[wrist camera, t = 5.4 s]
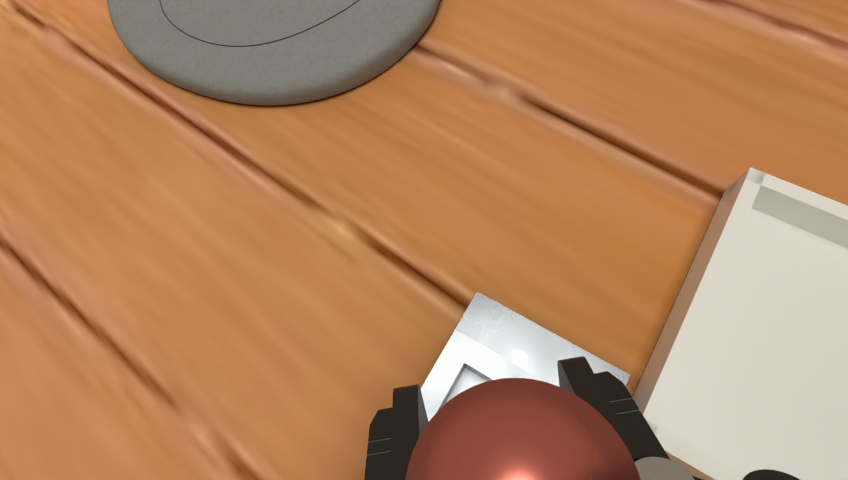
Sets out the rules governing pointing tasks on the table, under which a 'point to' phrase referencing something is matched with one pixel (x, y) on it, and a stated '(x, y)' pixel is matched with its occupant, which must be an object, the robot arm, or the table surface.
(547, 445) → the pin
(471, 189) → the table surface
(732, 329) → the tray
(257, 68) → the frisbee
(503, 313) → the hitch
